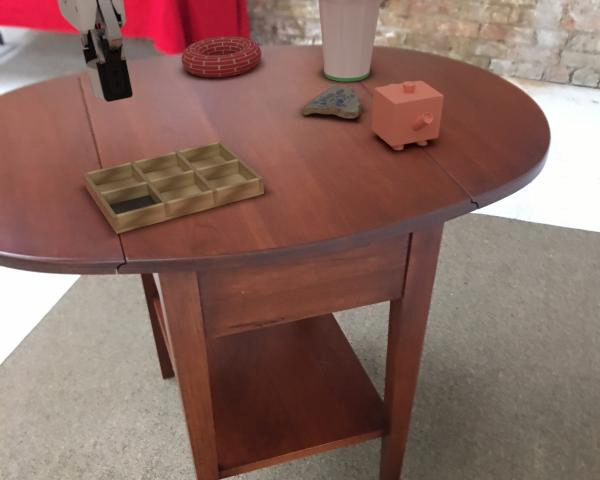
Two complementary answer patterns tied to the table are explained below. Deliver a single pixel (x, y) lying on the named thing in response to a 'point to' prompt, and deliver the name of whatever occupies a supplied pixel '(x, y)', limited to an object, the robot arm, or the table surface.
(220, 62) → the torus
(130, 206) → the compartment tray
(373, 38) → the cup
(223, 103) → the table surface
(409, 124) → the pink cube teapot
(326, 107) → the ceramic fragment
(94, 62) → the grey squat cylinder
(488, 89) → the table surface
